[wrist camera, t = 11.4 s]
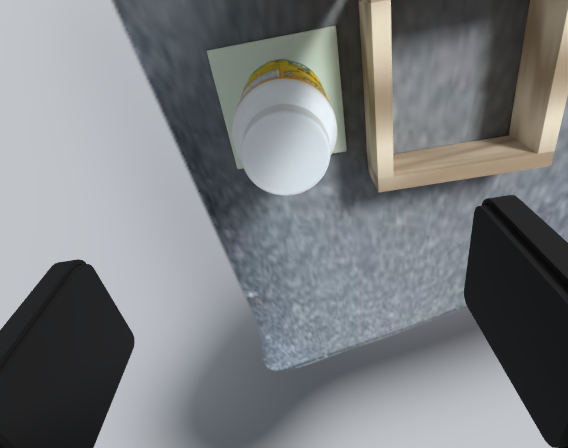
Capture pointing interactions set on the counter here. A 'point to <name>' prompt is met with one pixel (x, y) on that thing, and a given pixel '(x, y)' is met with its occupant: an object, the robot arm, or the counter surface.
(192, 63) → the counter surface
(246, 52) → the green mat
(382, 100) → the birch box
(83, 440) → the robot arm
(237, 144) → the supplement bottle
